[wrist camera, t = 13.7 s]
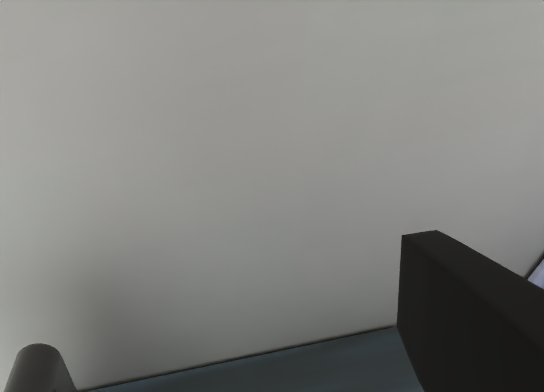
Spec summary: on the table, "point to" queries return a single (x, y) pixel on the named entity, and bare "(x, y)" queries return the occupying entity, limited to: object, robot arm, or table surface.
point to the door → (252, 370)
